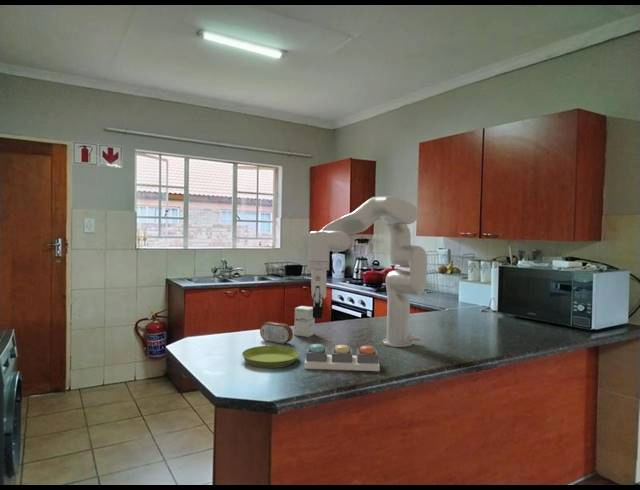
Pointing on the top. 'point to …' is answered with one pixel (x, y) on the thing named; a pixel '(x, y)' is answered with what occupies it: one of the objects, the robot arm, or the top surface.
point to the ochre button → (342, 349)
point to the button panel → (342, 360)
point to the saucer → (270, 356)
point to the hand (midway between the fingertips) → (317, 315)
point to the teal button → (317, 348)
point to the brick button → (366, 350)
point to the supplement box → (304, 321)
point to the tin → (276, 332)
